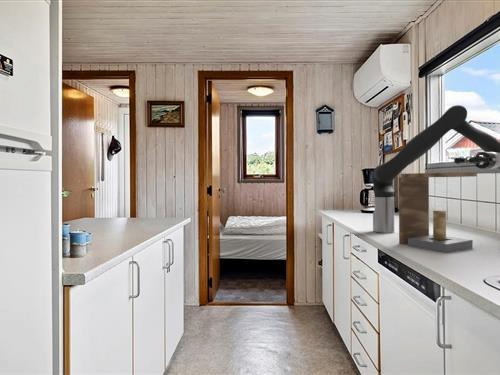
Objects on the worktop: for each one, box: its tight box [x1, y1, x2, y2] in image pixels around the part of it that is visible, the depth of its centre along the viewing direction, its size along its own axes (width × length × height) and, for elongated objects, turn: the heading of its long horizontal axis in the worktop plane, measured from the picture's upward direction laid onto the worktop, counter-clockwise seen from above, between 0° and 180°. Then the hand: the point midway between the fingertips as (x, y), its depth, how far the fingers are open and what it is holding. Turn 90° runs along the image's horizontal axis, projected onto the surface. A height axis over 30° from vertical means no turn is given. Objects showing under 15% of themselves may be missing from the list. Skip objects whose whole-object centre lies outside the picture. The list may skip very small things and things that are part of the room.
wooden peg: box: [432, 209, 447, 241], centre depth 146 cm, size 4×4×14 cm
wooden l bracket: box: [398, 171, 478, 245], centre depth 148 cm, size 22×16×28 cm
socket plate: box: [407, 234, 474, 253], centre depth 146 cm, size 16×16×3 cm
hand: (464, 159), depth 159 cm, fingers open, 8 cm apart
